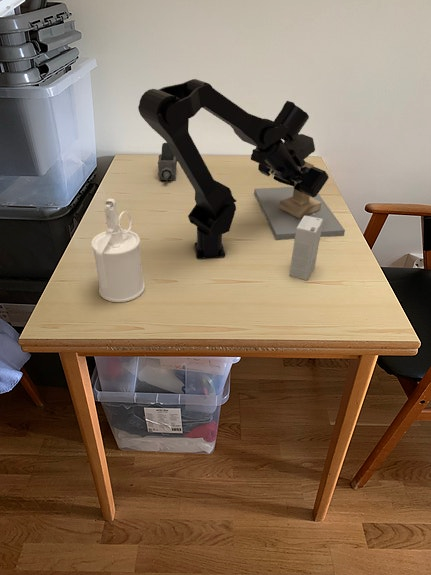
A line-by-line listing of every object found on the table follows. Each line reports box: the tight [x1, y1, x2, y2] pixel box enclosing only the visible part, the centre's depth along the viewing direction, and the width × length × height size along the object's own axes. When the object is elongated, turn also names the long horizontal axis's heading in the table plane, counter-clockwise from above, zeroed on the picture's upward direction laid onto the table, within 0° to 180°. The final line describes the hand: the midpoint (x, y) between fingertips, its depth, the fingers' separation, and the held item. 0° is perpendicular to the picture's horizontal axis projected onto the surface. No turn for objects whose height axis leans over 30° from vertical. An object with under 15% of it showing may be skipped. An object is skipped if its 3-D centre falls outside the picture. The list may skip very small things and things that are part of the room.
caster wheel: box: [157, 142, 178, 182], centre depth 141 cm, size 6×10×15 cm
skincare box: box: [289, 216, 323, 281], centre depth 99 cm, size 6×4×12 cm
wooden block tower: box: [279, 161, 321, 218], centre depth 120 cm, size 8×7×12 cm
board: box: [253, 186, 346, 241], centre depth 125 cm, size 26×17×2 cm, turn 8°
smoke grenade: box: [90, 198, 146, 303], centre depth 91 cm, size 10×9×20 cm
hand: (305, 188), depth 121 cm, fingers closed on wooden block tower, 3 cm apart
